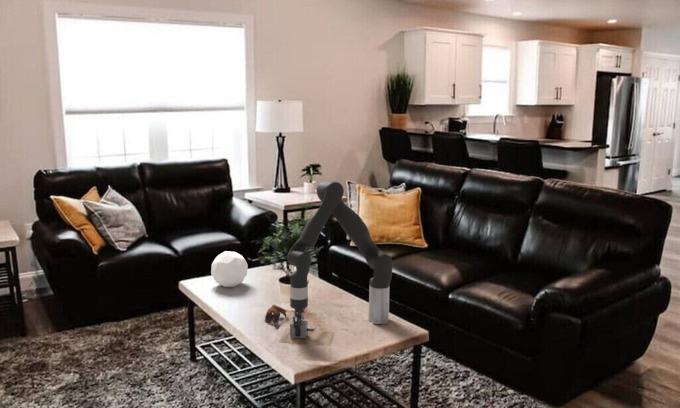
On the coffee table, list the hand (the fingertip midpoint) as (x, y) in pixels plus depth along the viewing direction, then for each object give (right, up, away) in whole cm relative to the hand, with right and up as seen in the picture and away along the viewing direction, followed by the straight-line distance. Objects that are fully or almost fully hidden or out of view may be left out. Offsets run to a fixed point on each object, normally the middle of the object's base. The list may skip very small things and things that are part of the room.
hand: (299, 333), depth 247 cm
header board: (+3, -3, 0) cm, 5 cm away
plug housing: (+1, -1, 0) cm, 2 cm away
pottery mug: (-12, +1, +20) cm, 24 cm away
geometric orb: (-42, +11, +66) cm, 79 cm away
